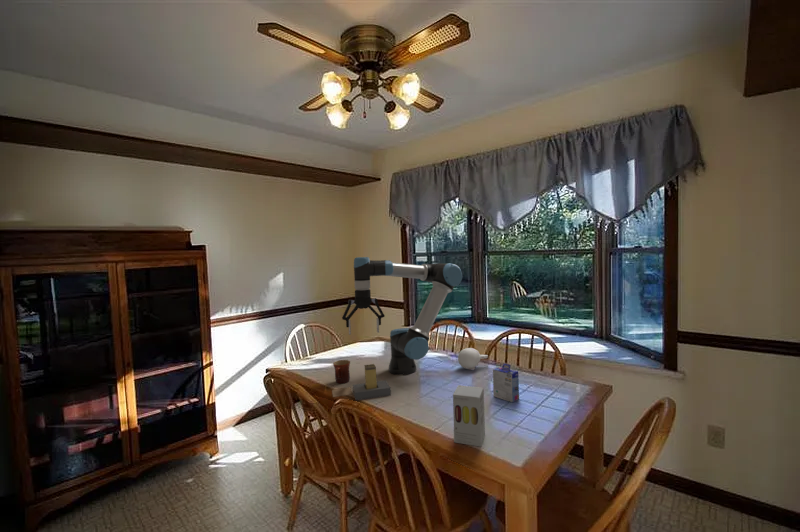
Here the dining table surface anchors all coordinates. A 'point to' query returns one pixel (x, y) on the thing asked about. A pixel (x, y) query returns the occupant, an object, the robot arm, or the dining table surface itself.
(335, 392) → the pad
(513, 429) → the dining table surface
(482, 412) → the supplement box
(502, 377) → the ink cartridge box
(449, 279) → the robot arm
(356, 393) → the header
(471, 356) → the piggy bank
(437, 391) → the dining table surface
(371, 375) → the plug
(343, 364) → the mug
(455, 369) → the dining table surface
